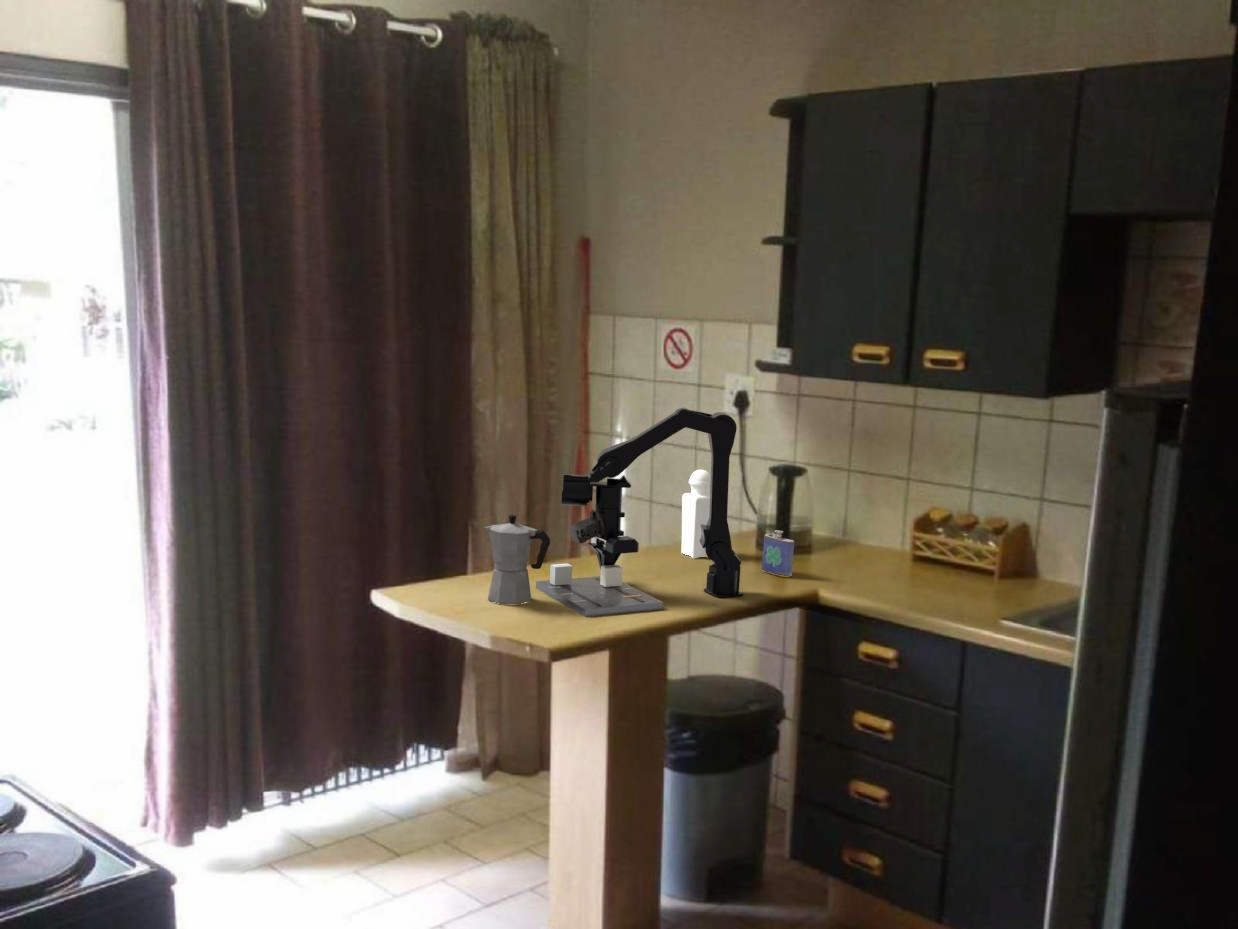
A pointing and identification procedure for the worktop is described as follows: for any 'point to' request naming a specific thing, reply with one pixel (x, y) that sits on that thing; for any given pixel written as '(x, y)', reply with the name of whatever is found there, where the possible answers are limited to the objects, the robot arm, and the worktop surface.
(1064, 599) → the worktop surface
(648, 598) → the panel
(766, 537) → the flask
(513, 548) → the coffeepot
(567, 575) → the block white
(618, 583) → the block
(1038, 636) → the worktop surface
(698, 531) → the white square decanter
